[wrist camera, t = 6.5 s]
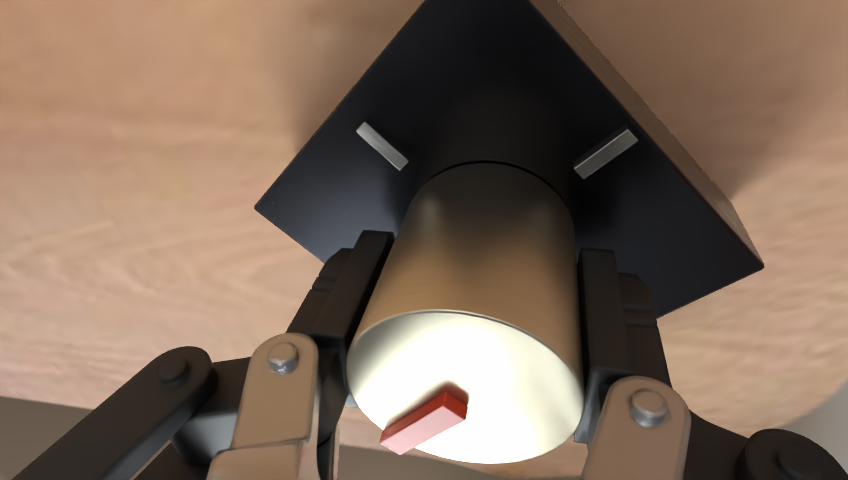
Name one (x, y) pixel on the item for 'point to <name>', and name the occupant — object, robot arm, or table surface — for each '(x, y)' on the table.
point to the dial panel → (514, 146)
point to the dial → (475, 322)
